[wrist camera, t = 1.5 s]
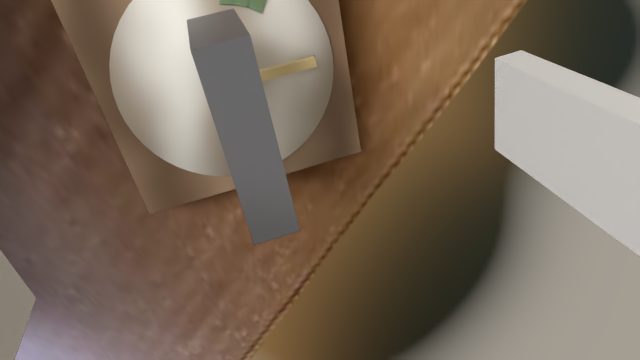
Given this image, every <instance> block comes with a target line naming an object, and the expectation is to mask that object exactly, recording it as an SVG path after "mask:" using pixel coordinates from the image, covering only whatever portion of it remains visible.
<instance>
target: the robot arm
mask: <svg viewBox="0 0 640 360" xmlns="http://www.w3.org/2000/svg"><path fill="white" fill-rule="evenodd" d="M495 150H497V151H498V152H499V153H501V154H502V155H504V156H505V157H506V158H508V159H509V160H510V161H512V162H513V163H514V164H516V165H517V166H518V167H520V168H521V169H523V170H524V171H525V172H526V173H528V174H529V175H531V176H532V177H533V178H534V179H536V180H537V181H539V182H540V183H541V184H543V185H544V186H545V187H547V188H548V189H549V190H551V191H552V192H553V193H555V194H556V195H557V196H559V197H560V198H561V199H563V200H564V201H566V202H567V203H568V204H570V205H571V206H572V207H574V208H575V209H576V210H578V211H579V212H580V213H582V214H583V215H584V216H586V217H587V218H588V219H590V220H591V221H593V222H594V223H595V224H597V225H598V226H599V227H601V228H602V229H604V230H605V231H606V232H607V233H609V234H610V235H611V236H613V237H614V238H615V239H617V240H618V241H620V242H621V243H622V244H624V245H625V246H626V247H628V248H629V249H630V250H632V251H633V252H634V253H636V254H637V255H638V256H640V98H638V97H636V96H633V95H631V94H629V93H626V92H624V91H621V90H619V89H616V88H613V87H611V86H609V85H606V84H604V83H601V82H599V81H596V80H594V79H591V78H589V77H586V76H584V75H581V74H579V73H576V72H574V71H571V70H569V69H566V68H564V67H561V66H559V65H556V64H554V63H551V62H549V61H546V60H544V59H542V58H539V57H537V56H534V55H532V54H529V53H527V52H524V51H522V50H521V51H517V52H514V53H511V54H508V55H504V56H501V57H497V58H495ZM35 300H36V297H35V296H34V295H33V293H32V292H31V291H30V289H29V288H28V287H27V285H26V284H25V283H24V281H23V280H22V278H21V277H20V276H19V274H18V273H17V272H16V270H15V269H14V268H13V266H12V265H11V264H10V262H9V261H8V259H7V258H6V257H5V255H4V254H3V253H2V251H1V250H0V360H15V357H16V354H17V352H18V349H19V346H20V343H21V340H22V337H23V334H24V332H25V329H26V326H27V323H28V320H29V317H30V314H31V312H32V309H33V306H34V303H35Z"/></svg>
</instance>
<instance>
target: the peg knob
mask: <svg viewBox="0 0 640 360" xmlns="http://www.w3.org/2000/svg"><path fill="white" fill-rule="evenodd" d="M187 28H188V36H189V44H190V51H191V54H192V57H193V60H194V63H195V66H196V69H197V72H198V75H199V78H200V81H201V84H202V87H203V90H204V93H205V96H206V99H207V103H208V106H209V109H210V112H211V115H212V118H213V121H214V124H215V127H216V130H217V133H218V136H219V139H220V142H221V145H222V148H223V151H224V154H225V158H226V161H227V164H228V167H229V170H230V173H231V176H232V179H233V182H234V185H235V188H236V191H237V194H238V197H239V200H240V203H241V206H242V209H243V213H244V216H245V219H246V222H247V225H248V228H249V231H250V234H251V237H252V240H253V243H254V245H256V244H260V243H263V242H266V241H269V240H272V239H276V238H279V237H282V236H285V235H288V234H292V233H295V232H298V231H300V229H299V225H298V221H297V217H296V213H295V209H294V205H293V201H292V197H291V193H290V189H289V185H288V182H287V178H286V174H285V170H284V166H283V162H282V158H281V154H280V150H279V146H278V142H277V138H276V134H275V130H274V127H273V123H272V119H271V115H270V111H269V107H268V103H267V99H266V95H265V91H264V87H263V83H262V81H265V80H269V79H272V78H276V77H280V76H284V75H287V74H291V73H295V72H299V71H303V70H306V69H310V68H314V67H317V64H316V59H315V57H314V56H310V57H306V58H302V59H298V60H294V61H291V62H287V63H283V64H279V65H275V66H271V67H268V68H264V69H260V70H259V68H258V64H257V60H256V56H255V52H254V48H253V44H252V40H251V36H250V34H249V32H248V31H247V29H246V27H245V26H244V24H243V22H242V21H241V19H240V18H239V16H238V14H237V13H236V11H235V10H234V8H233V9H229V10H225V11H221V12H217V13H213V14H208V15H204V16H200V17H196V18H192V19H188V20H187Z"/></svg>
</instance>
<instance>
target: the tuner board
mask: <svg viewBox="0 0 640 360" xmlns="http://www.w3.org/2000/svg"><path fill="white" fill-rule="evenodd" d="M51 1H52V4H53V6H54V8H55V10H56V12H57V14H58V17H59V19H60V21H61V23H62V25H63V27H64V30H65V32H66V34H67V36H68V38H69V40H70V43H71V45H72V47H73V49H74V51H75V54H76V56H77V58H78V60H79V62H80V64H81V67H82V69H83V71H84V73H85V75H86V77H87V80H88V82H89V84H90V86H91V88H92V90H93V93H94V95H95V97H96V99H97V101H98V104H99V106H100V108H101V110H102V112H103V114H104V117H105V119H106V121H107V123H108V125H109V127H110V130H111V132H112V134H113V136H114V138H115V140H116V143H117V145H118V147H119V149H120V151H121V154H122V156H123V158H124V160H125V162H126V164H127V167H128V169H129V171H130V173H131V175H132V177H133V180H134V182H135V184H136V186H137V188H138V190H139V193H140V195H141V197H142V199H143V201H144V203H145V206H146V208H147V210H148V212H149V214H152V213H155V212H159V211H162V210H166V209H169V208H172V207H176V206H179V205H183V204H186V203H189V202H193V201H196V200H200V199H203V198H206V197H210V196H213V195H216V194H220V193H223V192H227V191H230V190H233V189H236V188H235V185H234V182H233V179H232V176H231V173H230V170H229V167H228V164H227V161H226V158H225V154H224V151H223V148H222V145H221V142H220V139H219V136H218V133H217V130H216V127H215V124H214V121H213V118H212V115H211V112H210V109H209V106H208V103H207V99H206V96H205V93H204V90H203V87H202V84H201V81H200V78H199V75H198V72H197V69H196V66H195V63H194V60H193V57H192V54H191V51H190V44H189V36H188V28H187V20H188V19H192V18H196V17H200V16H204V15H208V14H213V13H217V12H221V11H225V10H229V9H233V8H234V10H235V11H236V13H237V14H238V16H239V18H240V19H241V21H242V22H243V24H244V26H245V27H246V29H247V31H248V32H249V34H250V36H251V40H252V44H253V48H254V52H255V56H256V60H257V64H258V68H259V70H260V69H264V68H268V67H271V66H275V65H279V64H283V63H287V62H291V61H294V60H298V59H302V58H306V57H310V56H314V57H315V59H316V64H317V67H314V68H310V69H306V70H303V71H299V72H295V73H291V74H287V75H284V76H280V77H276V78H272V79H269V80H265V81H262V83H263V87H264V91H265V95H266V99H267V103H268V107H269V111H270V115H271V119H272V123H273V127H274V130H275V134H276V138H277V142H278V146H279V150H280V154H281V158H282V162H283V166H284V170H285V174H288V173H291V172H295V171H298V170H301V169H305V168H308V167H311V166H315V165H318V164H322V163H325V162H328V161H332V160H335V159H339V158H342V157H345V156H349V155H352V154H356V153H359V152H361V147H360V140H359V134H358V127H357V120H356V114H355V107H354V100H353V94H352V87H351V80H350V74H349V67H348V60H347V54H346V47H345V40H344V34H343V27H342V20H341V13H340V7H339V0H51Z"/></svg>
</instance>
